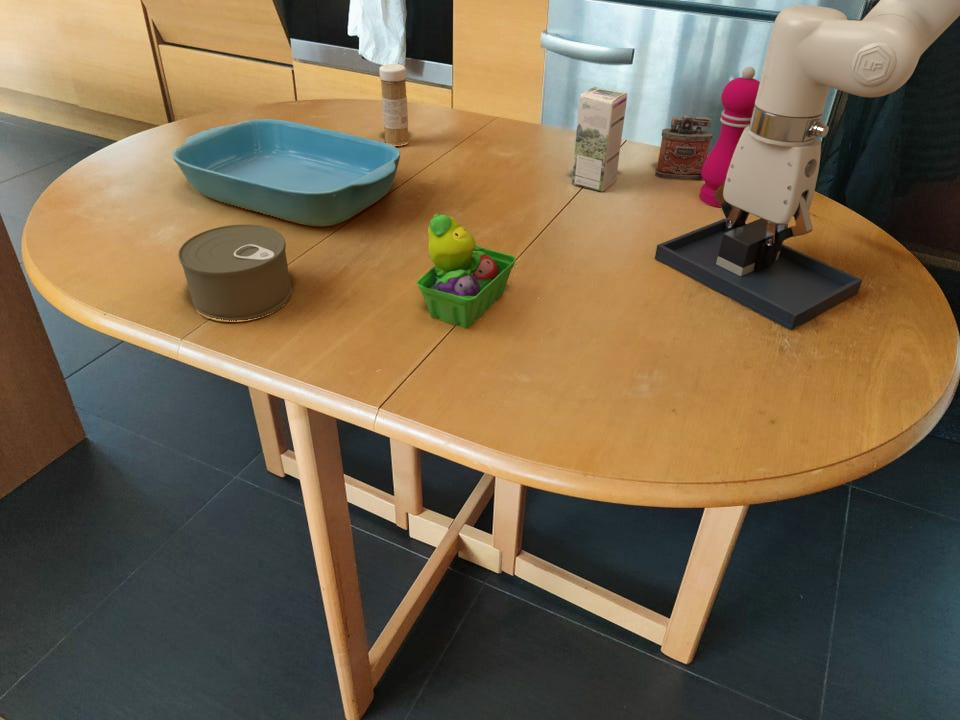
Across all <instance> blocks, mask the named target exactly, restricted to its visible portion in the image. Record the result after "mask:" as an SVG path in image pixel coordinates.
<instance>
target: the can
mask: <svg viewBox="0 0 960 720" xmlns="http://www.w3.org/2000/svg"><path fill="white" fill-rule="evenodd" d="M286 245H287V244H286V239H285V238H284V236H283V235H282V233H280V232H279V231H278V230H276V229H273V228H271V227H267V226H263V225H257V224H232V225H231V224H230V225H224V226H217V227H214V228H211V229H207V230H205V231H202V232H200V233H198V234H195V235H194V236H192V237H190V238H189V239H187V240H186V241H185V242H184V243H183V244H182V245H181V246H180V248H179V250H178V254H177V255H178V260H179V262H180V264H181V267H182V268H183V272H184V276H185V279H186V283H187V287H188V291H189V294H190V297H191V300H192V305H194V306H193V308H194V307H195V308H196V310H198V311H199V312H200V313H202V314H204V315H206V316H209V317H212V318H216V319H221V320H222V319H223V320H229V321H230V320H231V321H232V320H233V321H234V320H235V321H237V320H248V319H254V318H258V317H262V316H265V315H267V314H270V313H272V312H274V311H276V310H278V309H279V308H281V307H282V306H283V305H284V304H286V305H287V303H288V302H289V301H290V299H291V297H292V293H291V292H292V285H291V280H290V273H289V267H288V260H287V254H286ZM289 298H290V299H289ZM288 300H289V301H288ZM287 301H288V302H287ZM286 302H287V303H286ZM283 307H284V306H283ZM283 307H282V308H283ZM195 308H194V309H195ZM282 308H281V309H282ZM196 310H195V311H196ZM278 311H279V310H278Z"/></svg>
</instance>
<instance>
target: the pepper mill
mask: <svg viewBox="0 0 960 720" xmlns="http://www.w3.org/2000/svg"><path fill="white" fill-rule="evenodd" d="M755 75H756V70H755V68H754V67H752V66H746V67H744V68H743V69H742V72H741V77H740V76H739V77H737V78H734V79H732V80H730V81H728V82H727V84H725V86H724V87H723V88H722V89H723V90H722V92H721V97H720V99H721V100H720V101H721V105H722V106H723V108H724V109H723V110H722V111H721V113H720V114H721V117H720V118H719V121H720V123H721V129H720V133H719V135H718V139H717V140H716V143H715V145H714V146H713V148H712V149H711V151H710V152H709V153H708V155H707V158H706V160H705V162H704V164H703V168H702V171H701V175H702V178H703V180H702V181H703V182H704V183H703V184H702V185H701V188H700V191H699V200H701V201H702V202H703V203H705V204H707V205H709V206H712V207H715V208H722V206H720V204H719V203H718V201H717V200H716V198H715V197H714V192H715V191H716V190H717V189H718V188H719V187H720V186H721V185H722V184H723V183H724V182H725V180H726V176H727V173H728V169H729V166H730V163H731V160H732V157H733V154H734V151H735V149H736V146H737V144H738V142H739V139H740V137H741V135H742V133H743V131H744V129H745V128H746V127H747V126H750V122H751V118H752V113H753V109H754V105H755V101H756V97H757V93H758V89H759V84H760V80H758V79H756V78H754V77H755Z"/></svg>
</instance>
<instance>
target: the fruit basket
mask: <svg viewBox="0 0 960 720" xmlns="http://www.w3.org/2000/svg"><path fill="white" fill-rule="evenodd" d="M427 234H428V245H427V248H428V249H427V251H428V255H429V258H430V260H431V262H432V263H433V267H432V268H430V269H429V270H428V271H427V272H426V273H424V274H423V275H422V276H421V277H420V278H418V279H417V281H416V284H417V286H418V289H419V291H420V292H421V294H422V296H423V299H424V302H425V304H426V305H425V306H426V307H427V310H428V313H429V315H430V317H431V319H436V320H440V321H442V322H444V323H447V324H449V325H453V326H458V327H461V328H463V329H465V330H469V329H470V328H471V327H472V326H473V325H474V324H475V322H476V321H477V320H479V319H480V318H481V317H482V316H483V315H484V314H485V312H486V311H487V310H489V309H490V308H491V307H492V306H493V305H494V304H495V302H496V301H498V300H499V299H500V298H501V297H502V296H503V295H504V292H505V289H506V286H507V283H508V281H509V278H510V275H511V271H512V270H513V268H514V266H515V264H516V261H517V258H516V256H514V255H512V254H508V253H505V252H501V251H497V250H494V249H489V248H486V247H482V246H479V245H477V243H476V240H475V237H474V235H472V233H471V232H470V231H469V230H468V229H467V228H466V227H464V226H463V225H461V224H460V223H459V222H458V221H457V220H456V219H455V218H453V217H452V216H449V215H447V214H439V213H435V214H434V215H433V218H432V219H431V220H430V222H429V225H428V228H427Z"/></svg>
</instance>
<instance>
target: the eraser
mask: <svg viewBox="0 0 960 720" xmlns="http://www.w3.org/2000/svg"><path fill="white" fill-rule="evenodd" d="M766 229H767V220H764V219H762V218H760V217H759V218H758V219H755V220H753V221H750V222H747V223H746V225H743V226H741V227H738V228H736V229H733V230H731V231H728V232H726V233H724V234H723V237H722V241H721V245H720V250H719V254H718V258H717V262H716V264H717V265H719V266H721V267H723V268H725V269H727V270H729V271H731V272H733V273H735V274H737V275H739V276H743V275H745V274H747V273H749V272H752V271H754V266H755V262H756V259H757V255H758V251H759V248H760V245H761V243H763V242H765V241H766ZM782 244H784V241H781V243H780V247H779V250H778V253H777V257H776V260H777V259H778V257H779V254H780V250H781V247H782Z"/></svg>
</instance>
